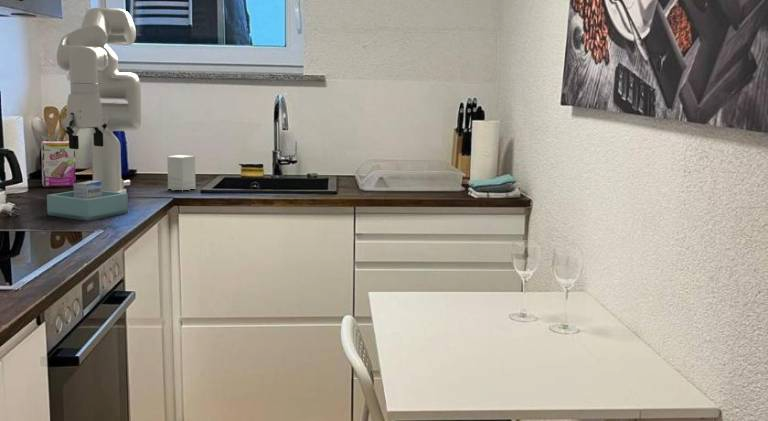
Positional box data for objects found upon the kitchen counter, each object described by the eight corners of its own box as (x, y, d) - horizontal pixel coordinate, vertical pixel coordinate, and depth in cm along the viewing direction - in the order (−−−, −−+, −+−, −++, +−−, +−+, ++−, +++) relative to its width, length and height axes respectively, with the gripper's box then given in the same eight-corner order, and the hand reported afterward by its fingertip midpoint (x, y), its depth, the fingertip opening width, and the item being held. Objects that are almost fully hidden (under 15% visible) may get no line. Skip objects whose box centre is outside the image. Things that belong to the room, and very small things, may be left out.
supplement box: (196, 189, 283) (195, 155, 280) (182, 191, 276) (182, 157, 274) (181, 187, 286) (180, 154, 284) (167, 189, 279) (166, 155, 277)
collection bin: (88, 207, 238) (87, 188, 237) (128, 212, 232) (127, 193, 231) (47, 215, 224) (46, 195, 223) (88, 220, 217) (87, 200, 216)
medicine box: (87, 213, 224) (86, 184, 222) (74, 212, 225) (73, 183, 223) (103, 208, 231) (102, 180, 230) (90, 207, 232) (89, 180, 231)
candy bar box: (43, 187, 275) (42, 142, 272) (42, 185, 279) (40, 141, 276) (76, 186, 281) (75, 142, 278) (74, 184, 285) (72, 140, 282)
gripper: (96, 88, 231) (98, 144, 234) (51, 89, 215) (54, 149, 218) (115, 89, 228) (117, 146, 231) (71, 90, 212) (73, 151, 216)
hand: (86, 147), depth 225 cm, fingers open, 9 cm apart
